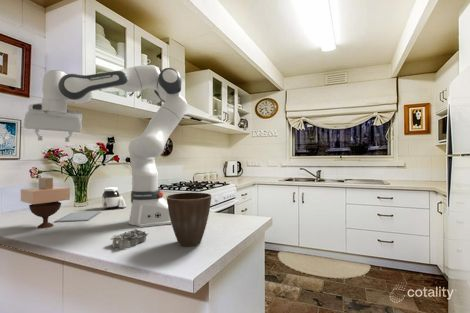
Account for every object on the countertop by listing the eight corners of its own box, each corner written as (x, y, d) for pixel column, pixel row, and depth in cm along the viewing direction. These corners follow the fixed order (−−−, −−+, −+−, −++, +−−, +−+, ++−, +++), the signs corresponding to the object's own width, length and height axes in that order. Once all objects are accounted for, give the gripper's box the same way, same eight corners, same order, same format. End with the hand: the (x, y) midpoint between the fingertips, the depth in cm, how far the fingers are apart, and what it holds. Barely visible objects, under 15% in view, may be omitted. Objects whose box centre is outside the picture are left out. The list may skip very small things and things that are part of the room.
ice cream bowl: (44, 230, 100) (44, 193, 100) (21, 229, 102) (21, 192, 103) (67, 224, 111) (67, 189, 111) (46, 222, 113) (46, 189, 113)
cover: (56, 197, 116) (56, 176, 116) (69, 199, 108) (69, 177, 108) (20, 201, 105) (20, 178, 105) (32, 204, 98) (32, 179, 98)
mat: (101, 212, 134) (101, 211, 134) (88, 220, 116) (88, 219, 116) (71, 213, 131) (71, 212, 131) (54, 222, 113) (54, 221, 113)
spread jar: (100, 208, 145) (100, 187, 145) (119, 205, 154) (119, 186, 154) (109, 211, 137) (109, 189, 137) (129, 207, 146) (129, 187, 146)
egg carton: (123, 251, 79) (122, 238, 79) (108, 247, 83) (108, 234, 83) (150, 241, 88) (150, 229, 88) (135, 237, 92) (135, 226, 92)
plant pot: (204, 252, 77) (204, 199, 77) (158, 249, 79) (158, 198, 79) (216, 237, 92) (216, 193, 92) (177, 235, 94) (176, 192, 94)
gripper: (81, 112, 118) (81, 142, 118) (24, 106, 105) (24, 140, 105) (83, 110, 113) (83, 142, 113) (23, 104, 100) (23, 139, 100)
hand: (54, 141), depth 109 cm, fingers open, 8 cm apart
